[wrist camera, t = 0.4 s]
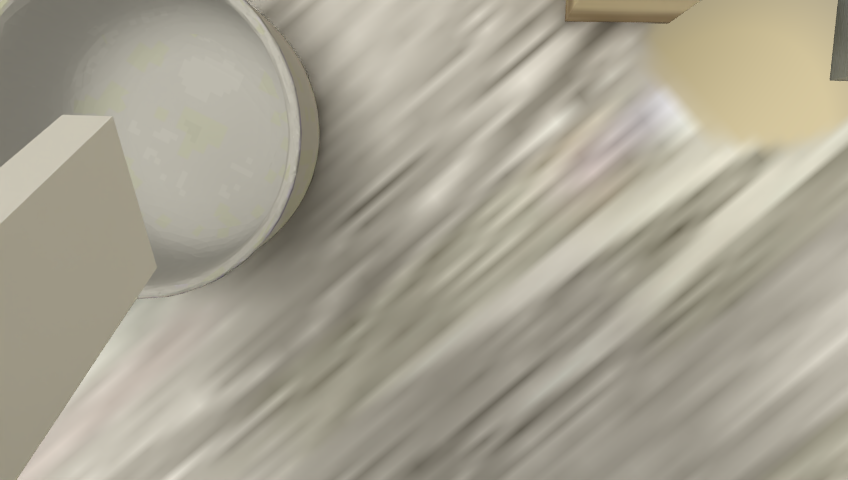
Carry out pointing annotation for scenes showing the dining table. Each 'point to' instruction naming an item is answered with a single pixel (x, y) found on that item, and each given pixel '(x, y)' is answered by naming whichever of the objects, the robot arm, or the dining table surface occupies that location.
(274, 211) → the teacup
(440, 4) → the dining table surface
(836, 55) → the grey u-channel bracket
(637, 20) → the tan long bar
